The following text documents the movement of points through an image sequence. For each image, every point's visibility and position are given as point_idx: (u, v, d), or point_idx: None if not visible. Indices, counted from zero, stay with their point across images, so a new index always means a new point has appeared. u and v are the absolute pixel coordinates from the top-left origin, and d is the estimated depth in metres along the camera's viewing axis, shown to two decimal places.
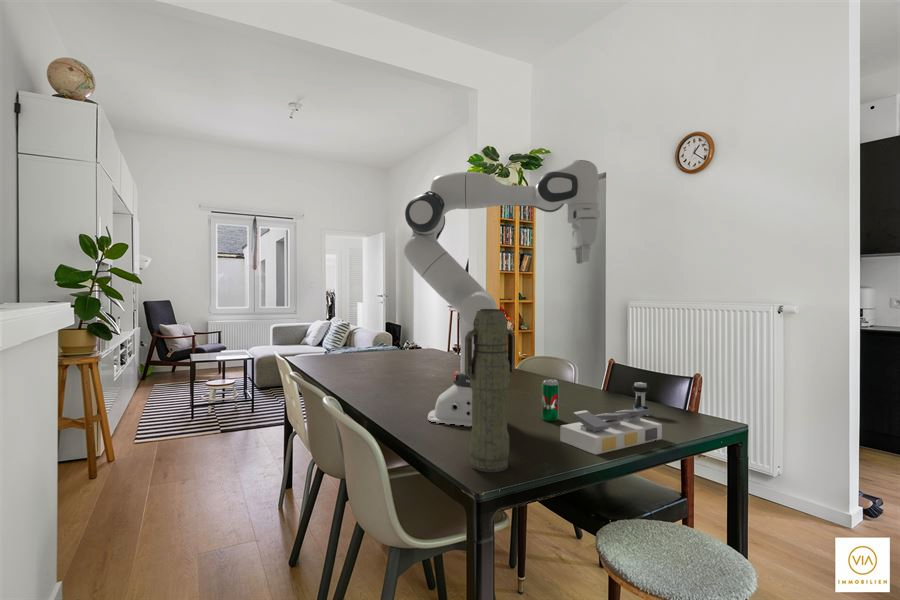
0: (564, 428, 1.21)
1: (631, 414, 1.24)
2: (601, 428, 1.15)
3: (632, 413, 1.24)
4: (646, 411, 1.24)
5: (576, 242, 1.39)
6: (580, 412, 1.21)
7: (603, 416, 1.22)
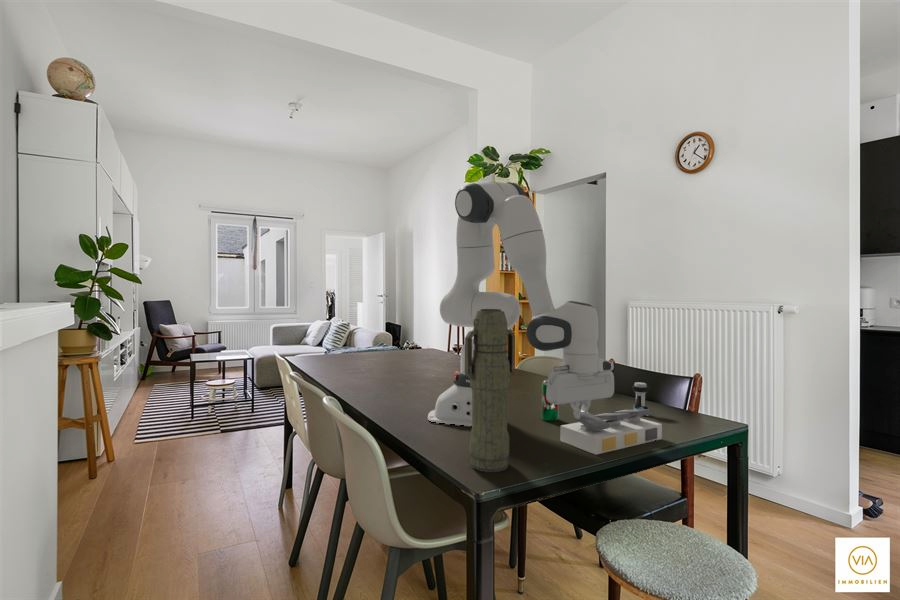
0: (564, 428, 1.21)
1: (631, 414, 1.24)
2: (601, 427, 1.15)
3: (632, 413, 1.24)
4: (646, 411, 1.24)
5: (586, 395, 1.18)
6: None
7: (603, 416, 1.22)
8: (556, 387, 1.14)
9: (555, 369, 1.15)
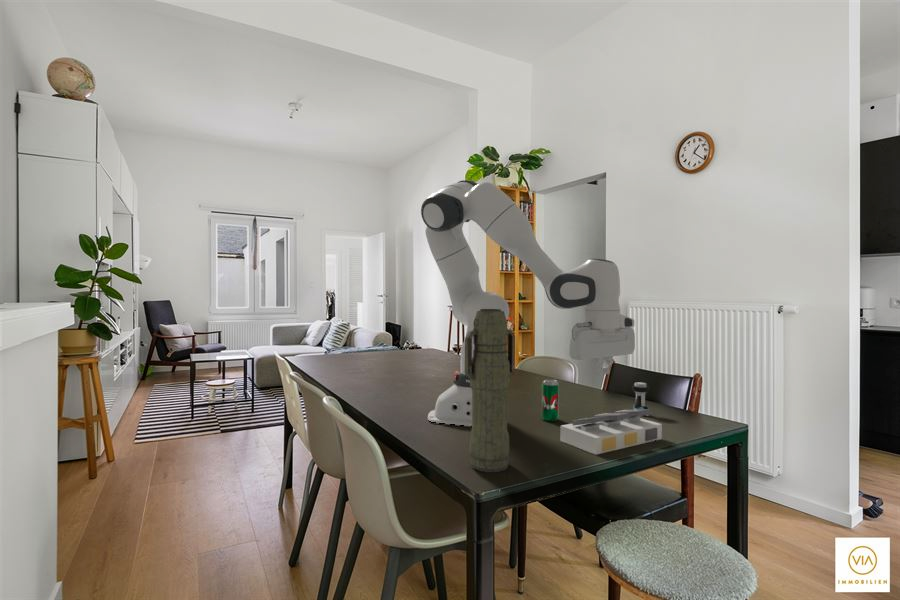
0: (564, 428, 1.21)
1: (631, 414, 1.24)
2: (600, 418, 1.15)
3: (632, 413, 1.24)
4: (646, 411, 1.24)
5: (609, 351, 1.20)
6: (579, 419, 1.22)
7: None
8: (579, 342, 1.15)
9: (578, 325, 1.16)
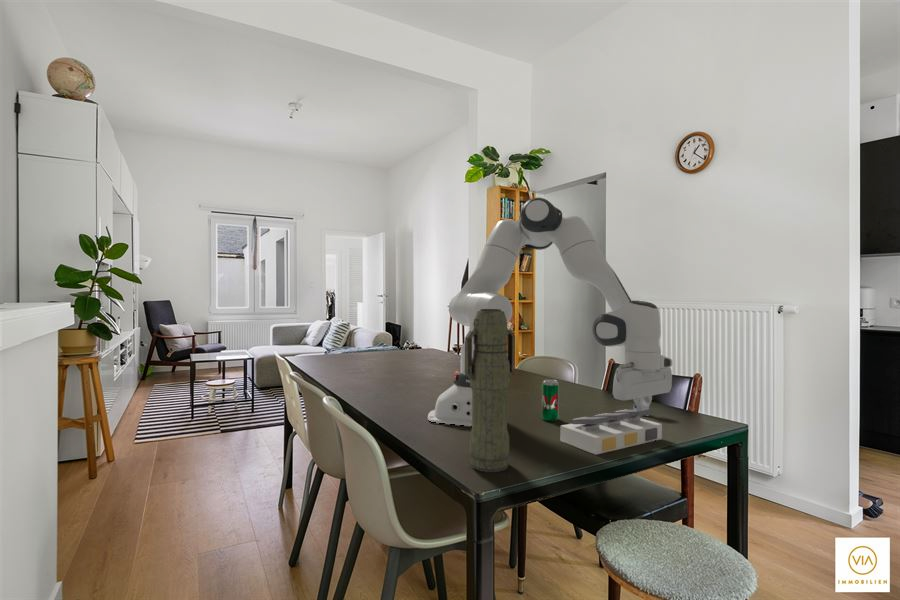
0: (564, 428, 1.21)
1: (631, 414, 1.24)
2: (601, 420, 1.15)
3: (632, 413, 1.24)
4: (646, 411, 1.24)
5: (649, 391, 1.23)
6: (579, 418, 1.22)
7: (603, 416, 1.22)
8: (624, 384, 1.18)
9: (622, 366, 1.20)
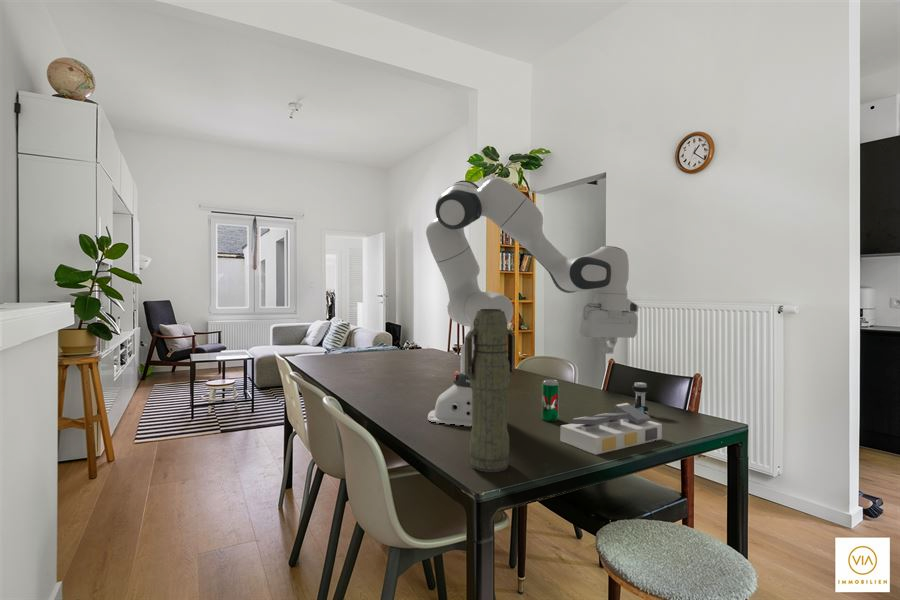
0: (564, 428, 1.21)
1: (631, 418, 1.24)
2: (601, 420, 1.15)
3: (632, 418, 1.24)
4: (646, 419, 1.24)
5: (614, 332, 1.30)
6: None
7: (603, 416, 1.22)
8: (590, 321, 1.25)
9: (589, 305, 1.26)
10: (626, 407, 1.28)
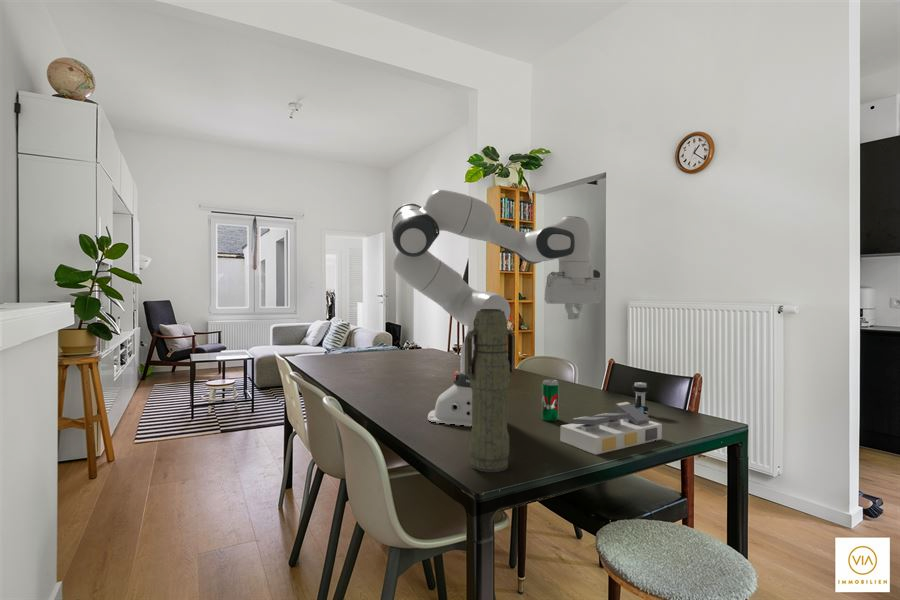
0: (564, 428, 1.21)
1: (630, 418, 1.24)
2: (601, 420, 1.15)
3: (632, 418, 1.24)
4: (646, 420, 1.24)
5: (579, 299, 1.36)
6: None
7: (603, 416, 1.22)
8: (553, 288, 1.31)
9: (553, 273, 1.32)
10: (626, 407, 1.28)
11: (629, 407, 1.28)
